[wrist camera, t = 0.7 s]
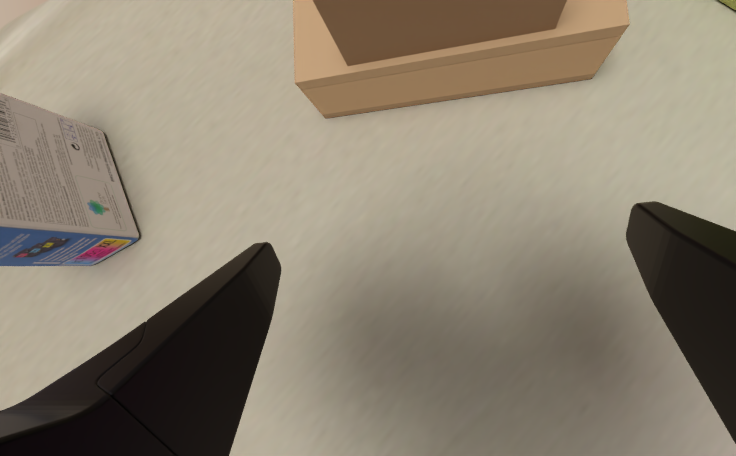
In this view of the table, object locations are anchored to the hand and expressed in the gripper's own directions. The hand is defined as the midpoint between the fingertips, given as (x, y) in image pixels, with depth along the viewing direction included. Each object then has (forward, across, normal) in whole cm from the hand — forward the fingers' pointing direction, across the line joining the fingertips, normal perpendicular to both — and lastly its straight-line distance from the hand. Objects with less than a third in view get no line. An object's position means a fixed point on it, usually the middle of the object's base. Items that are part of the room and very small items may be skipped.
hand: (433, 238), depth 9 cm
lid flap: (+15, -1, -4) cm, 16 cm away
